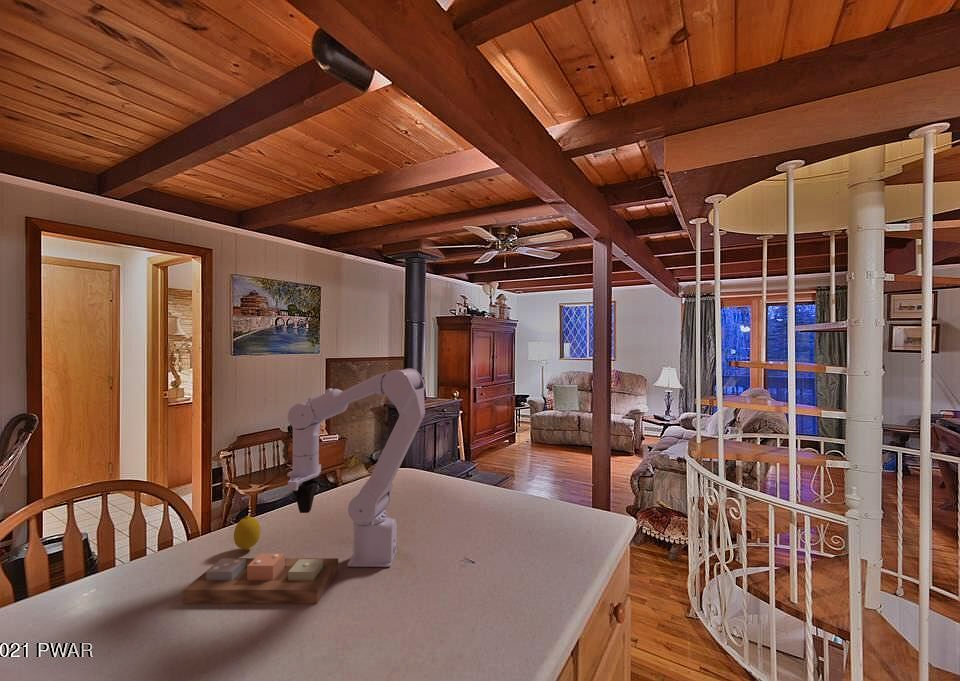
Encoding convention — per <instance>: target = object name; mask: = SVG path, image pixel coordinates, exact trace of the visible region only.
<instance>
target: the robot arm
mask: <svg viewBox="0 0 960 681" xmlns="http://www.w3.org/2000/svg"><path fill="white" fill-rule="evenodd" d="M425 388H426V384H425V381H424V380H423V378H422V375H421V374H420V373H419V371H418V370H416V369H414V368H410V367H409V368H404V369H393V370H389V371H388V372H384V373H380V374H376V375H374V376H372V377H370V378H367V379H366V380H364V381H361V382H360V383H358V384H355V385H354V386H351V387H349V388H347V389H345V390H340V389H339V388H332V387H331V388H328V389H324V393H323V394H320V395H318V396H316V397H315V396H311V397H308V398H307V401H306V402H299V403H296V404H295V403H294V405H292V407H290V409H288V413H287V420H288V422H289V425H290V426H291V427H292V465H291V466H292V470H291V471H289V472H287V473H286V474H287V475H286V476H287V477H290V479H289V480H288V481H287V491H288V492H290V491H291V492H292V493H293V495H294V497H295V500H296V503H297V507H298V511H299V514H309V513H310V512H311V510H312V507H313V501H314V499H315V495H316V491H317V489H318V487H319V485H320V483H321V478H319V475H320V473H321V472H322V464H321V463H320V460H319V459H320V458H319V457H320V454H319V453H320V452H319V450H320V430H321V423H323V421H325V420H328V419H330V418H333V417H335V416H336V415H337V416H338V415H340V414H343V413H344V412H346V410H347V409H348V407H349V405H350V404H351V403H354V402H357V401H359V400H362V399H364V398H366V397H369V396H370V395H374V394H377V395H380V396H382V395H385V396H386V397H387V398H388V400H390V402H391V403H392V404H393V405H394V407H395V408H396V410H397V412H398V415H399V416H398V418H397V420H396V423H395V425H394V427H393V429H392V431H391V433H390V435H389V437H388V439H387V441H386V443H385V446H384V447H383V449H382V452H381V454H380V456H379V458H378V460H377V462H376V464H375V465H374V468H373V470H372V471H371V472H372V473H371V475H370V477H368V479H367V480H366V482H365V483H364V485H363V486H362V487H361V488H360V491H359V492H358V494H357V495H356V496H354V497H353V498H352V499H350V502H349V504H348V508H347V509H348V510H347V512H348V516H349V517H350V519H351V520H352V521H353V539H352V540H353V541H352V542H353V545H352V546H353V548H352V551H353V554H352V556H351V558H349V561H348V563H347V565H346V566H347V567H349V568H350V567H351V568H352V567H353V568H360V567H361V568H365V567H366V568H369V567H370V568H374V567H375V568H383V567H384V568H388V567H391V566H392V563H393V561H394V558H395V556H396V555H397V554H396V553H397V551H398V547H397V543H398V542H397V540H398V539H397V535H398V534H397V529H398V528H397V526H398V525H397V524H398V523H397V520H396V519H395V518H391V517H387V511H386V509H387V508H388V506H389V505H390V502H391V492H392V489H393V487H394V484H393V481H394V479H395V477H396V475H397V474H398V472H399V470H400V467H401V465H402V463H403V461H404V459H405V457H406V455H407V452H408V450H409V449H410V446H411V444H412V442H413V440H414V438H415V437H416V434H417V432H418V430H419V428H420V426H421V424H422V422H423V420H424V418H425V415H426V408H425V407H426V406H425Z"/></svg>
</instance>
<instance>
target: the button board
mask: <svg viewBox="0 0 960 681" xmlns="http://www.w3.org/2000/svg"><path fill="white" fill-rule="evenodd" d="M255 558H256V557H251V558H249V557H248V558H247V557H246V558H245V557H243V558H241V557H238V558H237V557H236V558H235V557H230V558H229V557H225V558H224V557H222V558H221V559H246V568H245V569H244V570H243V571H242V572H241V573H240V574H239V575H238V576H237V577H236V578H235V579H233V580H206V571H208V570H209V569H210V568H208V569H207V570H206V571H205V572H203V573H202V574H201V575H200V576H199V577H197V578H196V579H194V580H193V581H192V582H191V583H189V585H187V586H186V587H185V588H184V589H182V590H183V596H182V597H183V598H182V602H183V604H318V603H319V601H320V599H321V598H322V597H323V595H324V593H325V592H326V590H327V588H328V587H329V586H330V584H331V582H332V580H333V579H334V578H335V576H336V575H337V573H338V571H339V558H335V557H334V558H330V557H329V558H328V557H327V558H325V557H323V558H320V557H319V558H316V557H312V558H311V557H309V558H308V557H307V558H306V557H304V558H303V557H302V558H299V557H298V558H297V557H296V558H293V557H291V558H290V557H286V558H285V568H284V569H283V571H282V572H281V573H280V574H279V575H278V576H277V577H276V578H275V580H274V581H260V580H247V566H248V565H249V564H250V563H251V562H252V561H253V560H254V559H255ZM221 559H219V560H218V561H217V562H216V563H218V562H219V561H220V560H221ZM299 559H323V570H322V571H321V572H320V574H319V575H318V577H317V578H316V580H315V581H288V572H289V570H290V569H291V568H292V567H293V566H294V565H295V563H296V562H297V561H298V560H299ZM216 563H214V564H213V565H212V566H211V567H213V566H214V565H215V564H216Z"/></svg>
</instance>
